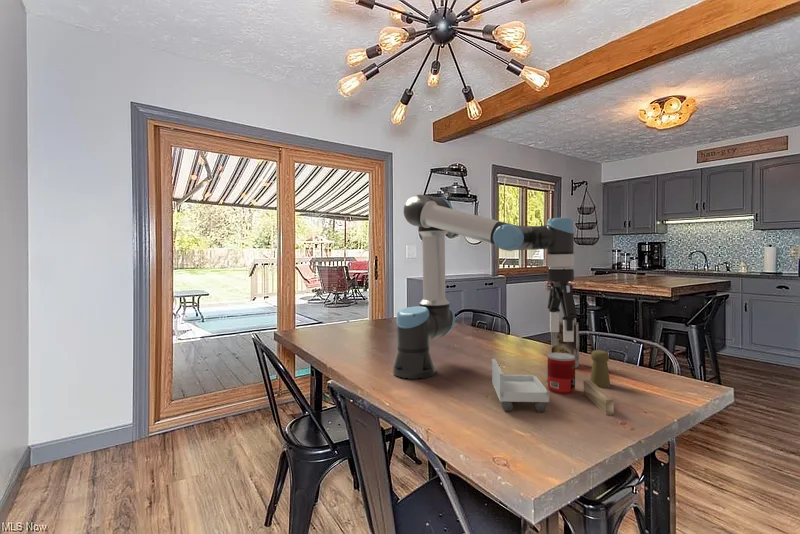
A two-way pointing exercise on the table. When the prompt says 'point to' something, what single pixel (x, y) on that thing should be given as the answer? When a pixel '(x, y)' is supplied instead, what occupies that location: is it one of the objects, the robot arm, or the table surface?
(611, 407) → the bar
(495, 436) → the table surface
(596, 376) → the cork
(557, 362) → the canned food
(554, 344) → the coffee box
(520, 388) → the cart
